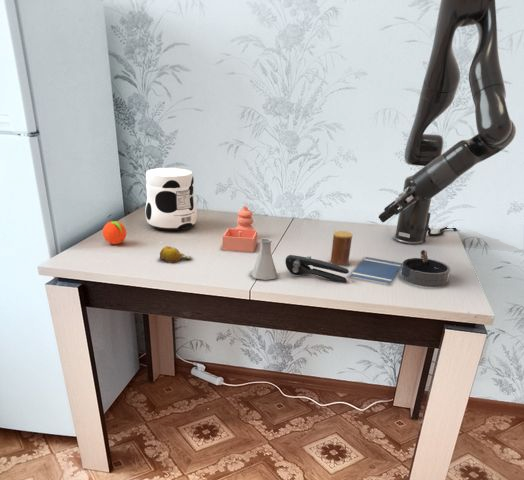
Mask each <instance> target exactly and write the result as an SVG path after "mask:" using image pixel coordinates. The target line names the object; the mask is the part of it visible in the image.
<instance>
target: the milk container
mask: <svg viewBox="0 0 524 480" xmlns="http://www.w3.org/2000/svg"><path fill="white" fill-rule="evenodd" d="M193 173H194V172H193V171H192V170H189V169H186V168H179V167H158V168H157V167H156V168H151V169H147V170H146V171H145V190H146V204H145V208H144V214H145V219H146V222H147V224H148V226H150V227H152V228H154V229H159V230H163V231H180V230H185V229H189V228H191V227H193V226H194V225H196V222H197V218H198V209H197V205H196V202H195V184H194V182H195V181H194V174H193Z"/></svg>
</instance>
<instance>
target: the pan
mask: <svg viewBox="0 0 524 480" xmlns="http://www.w3.org/2000/svg"><path fill="white" fill-rule="evenodd" d="M423 259H424V258H421V257H412V258H407V259H405V260H403V261H402V265H401V270H400V278H401V279H402V280H403V281H405V282H406V283H409V284H412V285H415V286H420V287H427V288H438V287H442V286H445V285H446V284H447V283H448V280H449V276H450V271H451V267H450V266H449V265H448V264H446V263H444V262H443V261H440V260H437V259H431V258H428V259H427V260H428V264H427V265H423V264H422V260H423Z"/></svg>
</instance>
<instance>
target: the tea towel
mask: <svg viewBox="0 0 524 480" xmlns="http://www.w3.org/2000/svg"><path fill="white" fill-rule="evenodd" d="M402 265H403V262H395V261H391V260H385V259H379V258H374V257H368V256H365V258H363V260H362V261H361V262H360V263H359V265H357V267H356V268H355V269H354V270H353V271H352V272H351V274H350V275H349V277H351V278H352V277H353V278H358V279H363V280H368V281H373V282H377V283H378V282H379V283H384V284H388V285H390V283H391V282H392V280H393V279H394V278H395V276H396V275H397V273H398V272H399V270H400V268H402Z"/></svg>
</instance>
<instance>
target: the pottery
mask: <svg viewBox="0 0 524 480" xmlns="http://www.w3.org/2000/svg"><path fill="white" fill-rule="evenodd" d="M237 215H238V216H237V218H236V222H237V226H236V227H235V228H234V227H233V228H231V227H227V229H226V231H225V232H224V233H223V235H222V251H232V252H245V253H254V251H255V249H256V247H257V245H258V230H257V229H255V228H254V226H253V225H252V224H253V223H254V218H253V215H254V213H253V211H252V210H250V209H249V207H248V205H247V206H246V205H245V206H242V209H239V210H238V212H237Z"/></svg>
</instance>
